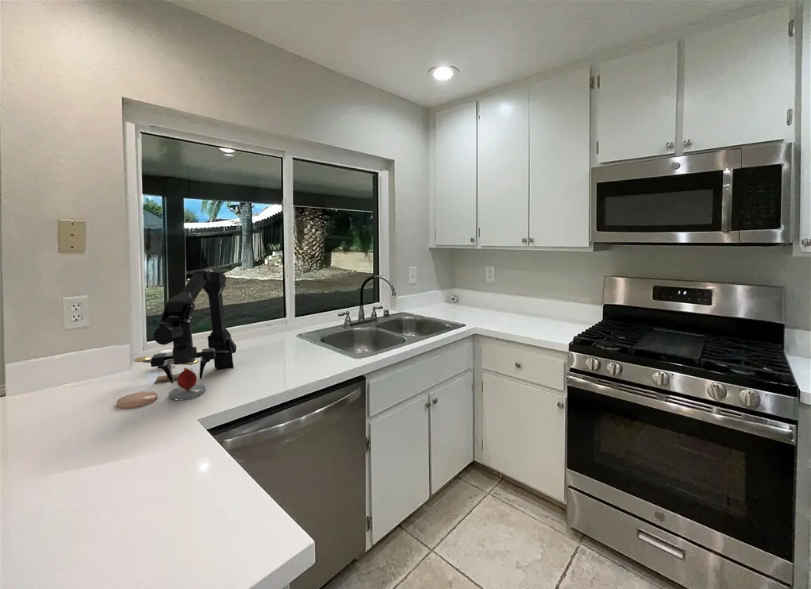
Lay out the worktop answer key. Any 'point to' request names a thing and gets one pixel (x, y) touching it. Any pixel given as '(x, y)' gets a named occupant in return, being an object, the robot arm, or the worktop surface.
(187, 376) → the onion
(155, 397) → the terracotta dish
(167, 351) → the white cylinder
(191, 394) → the slate dish
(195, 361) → the balance
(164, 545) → the worktop surface
